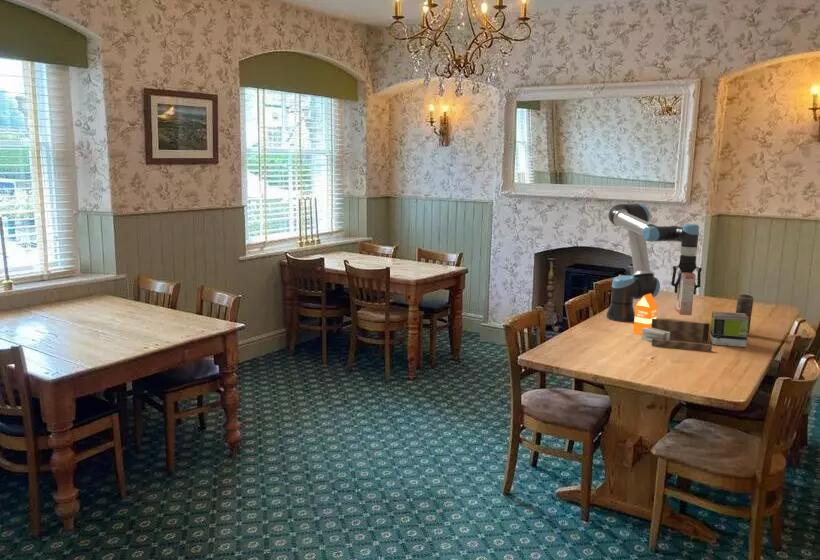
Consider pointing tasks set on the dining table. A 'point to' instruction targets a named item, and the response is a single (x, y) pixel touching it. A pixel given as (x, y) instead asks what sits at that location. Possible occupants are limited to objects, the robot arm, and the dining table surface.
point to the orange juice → (644, 313)
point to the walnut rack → (683, 334)
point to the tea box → (729, 329)
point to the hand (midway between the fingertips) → (684, 300)
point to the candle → (745, 306)
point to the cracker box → (685, 293)
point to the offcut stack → (654, 334)
